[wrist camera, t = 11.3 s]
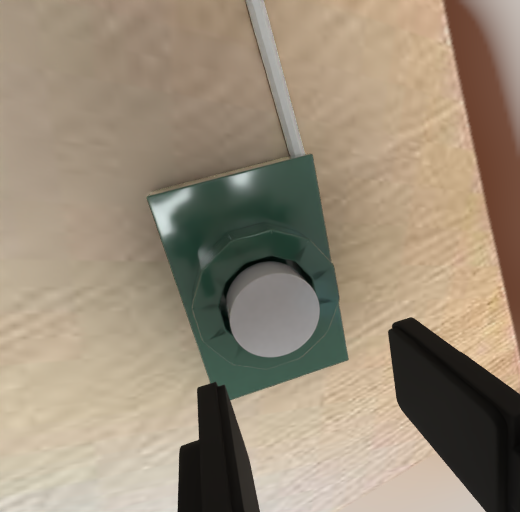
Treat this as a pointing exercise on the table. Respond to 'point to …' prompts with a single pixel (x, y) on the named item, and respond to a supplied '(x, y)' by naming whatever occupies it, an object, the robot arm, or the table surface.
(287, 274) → the flush button
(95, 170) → the table surface
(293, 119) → the pencil
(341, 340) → the button block
